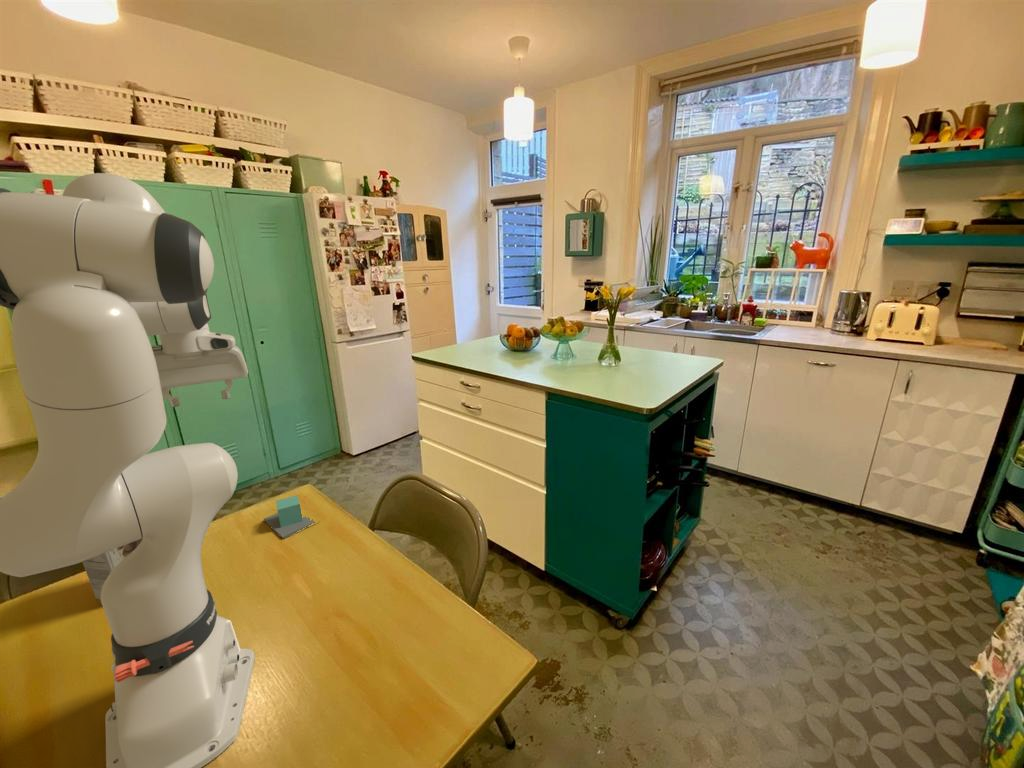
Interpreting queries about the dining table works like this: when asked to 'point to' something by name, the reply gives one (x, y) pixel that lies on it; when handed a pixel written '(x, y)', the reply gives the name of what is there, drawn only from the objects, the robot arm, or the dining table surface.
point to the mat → (289, 529)
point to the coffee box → (106, 565)
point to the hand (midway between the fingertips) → (201, 402)
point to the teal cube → (289, 511)
